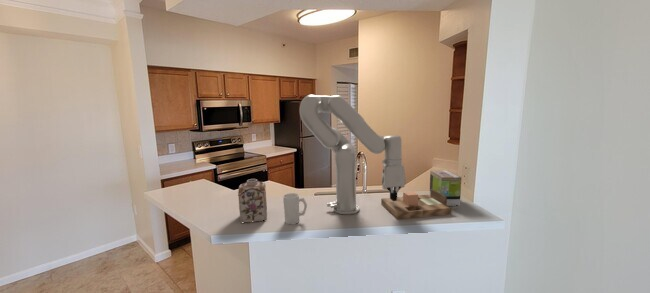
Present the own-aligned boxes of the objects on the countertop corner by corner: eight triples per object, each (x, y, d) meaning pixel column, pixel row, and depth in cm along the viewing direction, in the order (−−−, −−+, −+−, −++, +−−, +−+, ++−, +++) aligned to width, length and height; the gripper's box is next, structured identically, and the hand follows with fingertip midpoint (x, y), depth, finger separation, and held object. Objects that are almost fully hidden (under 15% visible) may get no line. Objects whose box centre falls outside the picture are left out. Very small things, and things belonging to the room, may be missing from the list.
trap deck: (397, 219, 114) (397, 204, 113) (381, 204, 133) (381, 191, 132) (451, 214, 118) (451, 199, 117) (428, 200, 137) (428, 187, 136)
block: (407, 205, 122) (408, 195, 121) (403, 201, 127) (403, 192, 126) (417, 204, 123) (418, 194, 122) (412, 201, 128) (412, 191, 127)
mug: (283, 225, 112) (282, 198, 111) (285, 218, 119) (284, 193, 117) (306, 224, 112) (305, 197, 111) (307, 218, 119) (306, 192, 117)
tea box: (460, 206, 127) (462, 176, 125) (440, 206, 128) (441, 177, 126) (447, 196, 142) (448, 169, 140) (428, 196, 143) (429, 170, 140)
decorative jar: (267, 211, 128) (265, 175, 126) (267, 220, 117) (264, 182, 115) (242, 214, 126) (239, 178, 123) (239, 224, 115) (236, 184, 112)
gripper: (380, 165, 116) (381, 204, 118) (412, 162, 118) (412, 201, 121) (374, 161, 123) (375, 199, 126) (404, 159, 125) (404, 196, 128)
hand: (393, 199), depth 123 cm, fingers closed
